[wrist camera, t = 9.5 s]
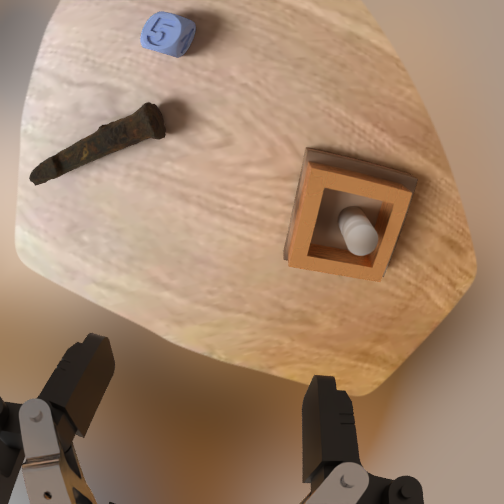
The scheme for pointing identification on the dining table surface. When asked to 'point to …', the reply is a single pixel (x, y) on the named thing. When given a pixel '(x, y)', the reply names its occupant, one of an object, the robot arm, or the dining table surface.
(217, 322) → the dining table surface
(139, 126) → the hand tool
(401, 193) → the link
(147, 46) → the decorative dice
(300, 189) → the keeper
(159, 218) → the dining table surface
